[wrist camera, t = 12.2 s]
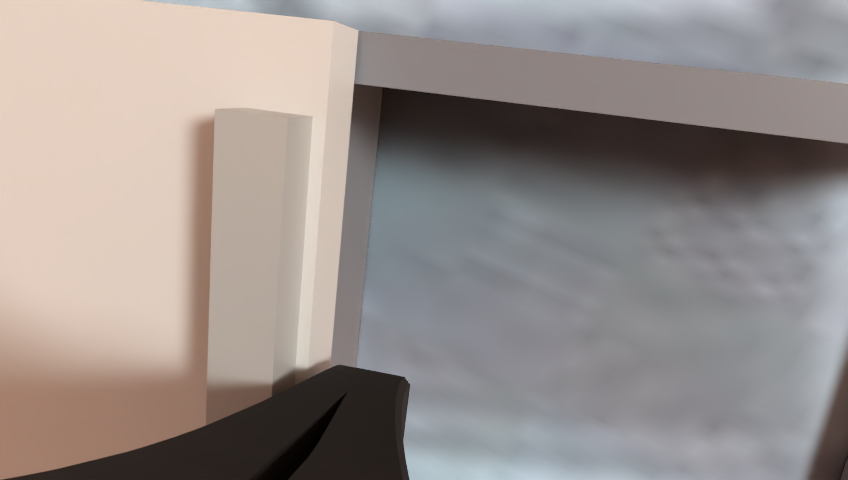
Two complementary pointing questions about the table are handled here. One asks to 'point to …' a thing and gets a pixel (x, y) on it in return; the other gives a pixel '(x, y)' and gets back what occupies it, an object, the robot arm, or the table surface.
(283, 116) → the lid
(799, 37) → the table surface
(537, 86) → the box
